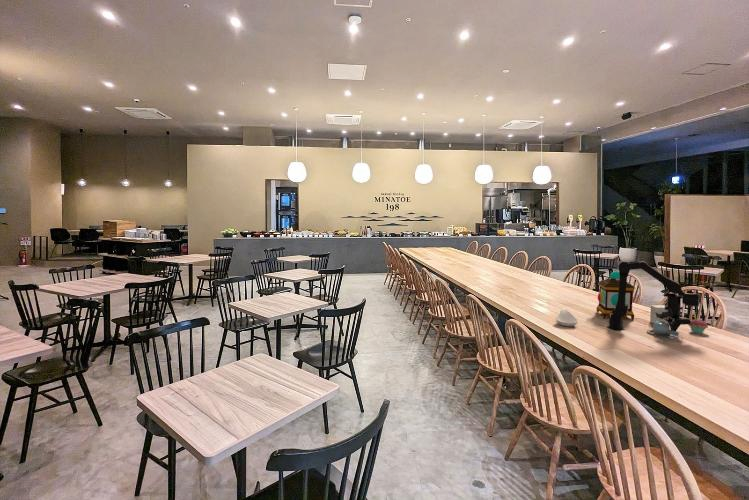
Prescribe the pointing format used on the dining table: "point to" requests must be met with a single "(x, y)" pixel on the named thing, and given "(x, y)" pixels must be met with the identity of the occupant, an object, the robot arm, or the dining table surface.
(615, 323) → the robot arm
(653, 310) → the small box
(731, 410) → the dining table surface
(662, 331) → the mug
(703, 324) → the cupcake
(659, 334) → the holder ring
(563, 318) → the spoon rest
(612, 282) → the decorative lantern
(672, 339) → the coaster
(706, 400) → the dining table surface
